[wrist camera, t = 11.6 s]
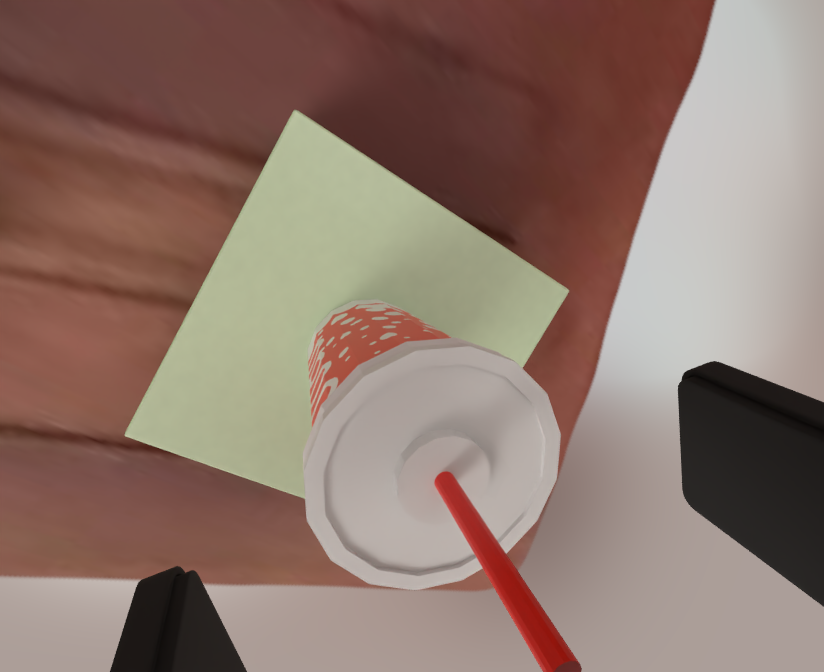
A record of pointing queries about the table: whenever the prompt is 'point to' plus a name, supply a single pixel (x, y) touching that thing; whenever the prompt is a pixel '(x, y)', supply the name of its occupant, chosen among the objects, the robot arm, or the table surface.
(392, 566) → the beverage cup
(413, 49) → the table surface
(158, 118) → the table surface
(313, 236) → the stand
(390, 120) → the table surface
